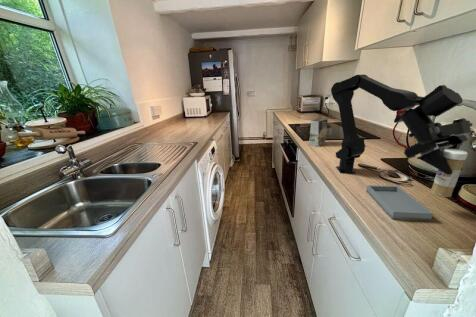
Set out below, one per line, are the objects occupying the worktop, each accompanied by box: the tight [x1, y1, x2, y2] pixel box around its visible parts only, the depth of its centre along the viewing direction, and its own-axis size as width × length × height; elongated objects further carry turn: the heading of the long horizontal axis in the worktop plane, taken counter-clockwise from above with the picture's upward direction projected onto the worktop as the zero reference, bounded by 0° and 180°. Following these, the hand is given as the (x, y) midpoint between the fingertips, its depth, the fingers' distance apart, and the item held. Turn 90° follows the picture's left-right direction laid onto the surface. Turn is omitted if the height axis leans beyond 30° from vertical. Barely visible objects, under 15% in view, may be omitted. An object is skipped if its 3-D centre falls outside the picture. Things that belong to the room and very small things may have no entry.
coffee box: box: [308, 118, 328, 147], centre depth 127 cm, size 9×6×16 cm
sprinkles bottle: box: [430, 149, 469, 198], centre depth 56 cm, size 5×5×13 cm
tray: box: [365, 185, 434, 222], centre depth 64 cm, size 16×10×2 cm, turn 172°
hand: (455, 172), depth 55 cm, fingers closed on sprinkles bottle, 4 cm apart
